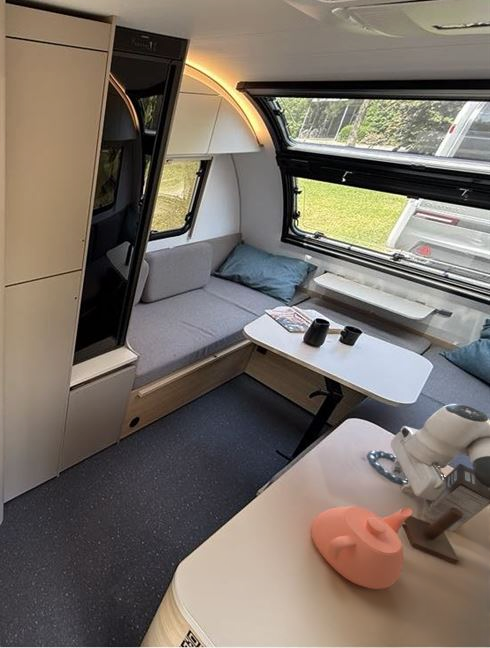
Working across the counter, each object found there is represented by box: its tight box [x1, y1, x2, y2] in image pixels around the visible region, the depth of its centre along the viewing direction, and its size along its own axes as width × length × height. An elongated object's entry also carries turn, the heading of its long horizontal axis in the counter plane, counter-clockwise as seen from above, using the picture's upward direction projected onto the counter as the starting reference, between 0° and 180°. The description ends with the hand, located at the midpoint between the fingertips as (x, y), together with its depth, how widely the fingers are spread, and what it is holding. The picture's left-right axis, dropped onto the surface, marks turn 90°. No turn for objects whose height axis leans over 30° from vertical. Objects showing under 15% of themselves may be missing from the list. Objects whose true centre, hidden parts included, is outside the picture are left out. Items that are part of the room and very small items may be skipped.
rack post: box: [401, 507, 464, 564], centre depth 91 cm, size 9×9×12 cm
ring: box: [366, 450, 408, 486], centre depth 111 cm, size 12×12×2 cm
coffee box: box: [422, 463, 490, 533], centre depth 96 cm, size 9×6×16 cm
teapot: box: [310, 506, 413, 590], centre depth 86 cm, size 25×17×13 cm
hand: (398, 480), depth 107 cm, fingers open, 5 cm apart
